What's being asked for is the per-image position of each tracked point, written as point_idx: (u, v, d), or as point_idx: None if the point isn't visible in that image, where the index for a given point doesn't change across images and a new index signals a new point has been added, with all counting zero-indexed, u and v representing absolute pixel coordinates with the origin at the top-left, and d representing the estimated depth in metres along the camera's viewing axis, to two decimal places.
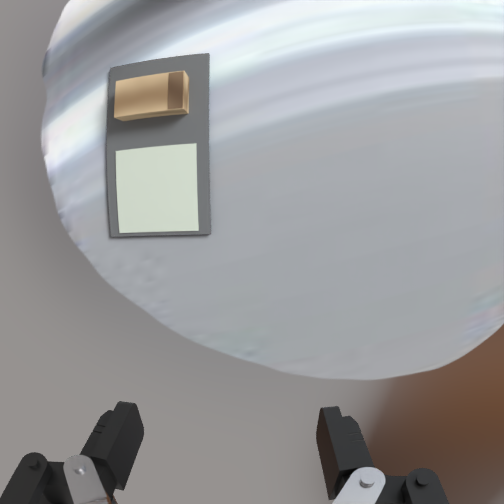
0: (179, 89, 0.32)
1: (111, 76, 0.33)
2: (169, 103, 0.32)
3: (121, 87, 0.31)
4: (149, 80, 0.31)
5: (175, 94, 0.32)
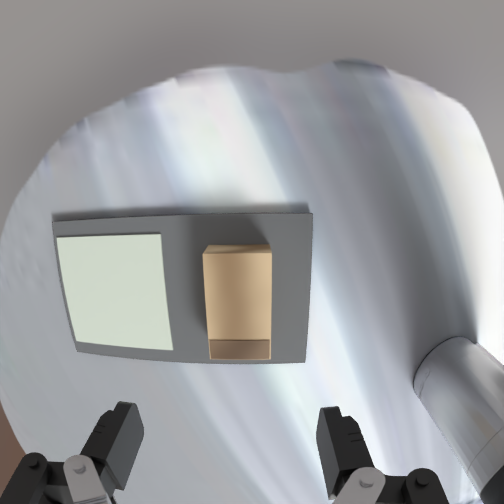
0: (240, 353, 0.24)
1: (295, 217, 0.25)
2: (217, 342, 0.24)
3: (257, 264, 0.22)
4: (261, 312, 0.23)
5: (231, 350, 0.24)
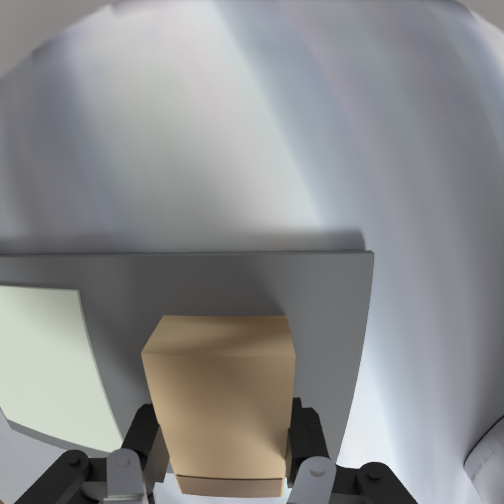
0: (232, 492, 0.11)
1: (340, 260, 0.12)
2: (191, 479, 0.11)
3: (261, 378, 0.09)
4: (269, 449, 0.10)
5: (216, 488, 0.11)
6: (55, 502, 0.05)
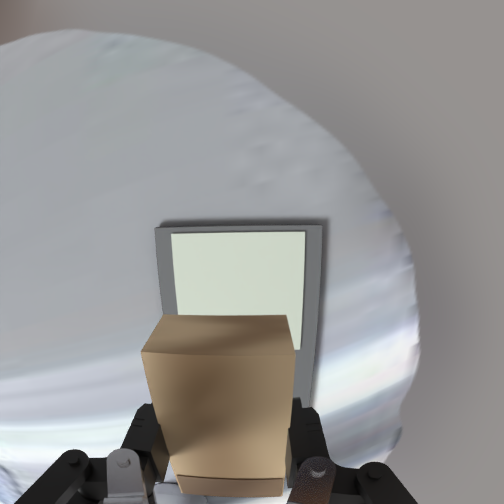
0: (232, 491, 0.11)
1: None
2: (191, 478, 0.11)
3: (261, 377, 0.09)
4: (269, 448, 0.10)
5: (216, 488, 0.11)
6: (55, 502, 0.05)
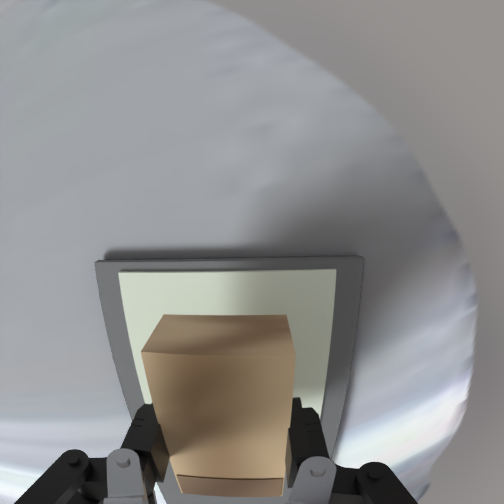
0: (232, 491, 0.11)
1: None
2: (191, 478, 0.11)
3: (261, 377, 0.09)
4: (269, 448, 0.10)
5: (216, 488, 0.11)
6: (55, 502, 0.05)
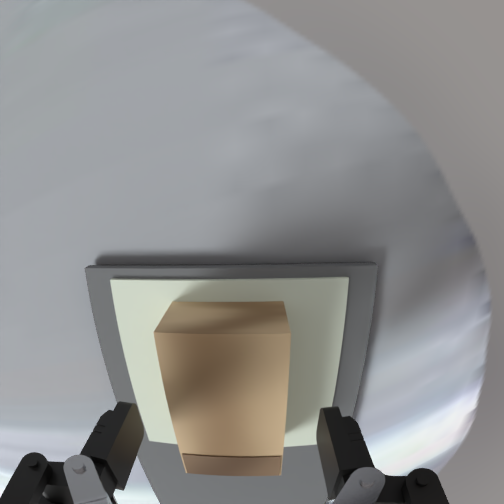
0: (233, 470, 0.13)
1: None
2: (195, 457, 0.12)
3: (261, 354, 0.11)
4: (268, 424, 0.12)
5: (219, 467, 0.12)
6: None
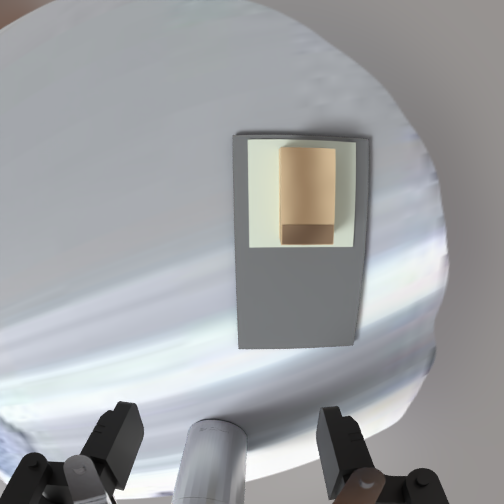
0: (308, 238, 0.28)
1: (352, 335, 0.35)
2: (289, 226, 0.28)
3: (324, 157, 0.26)
4: (327, 199, 0.27)
5: (301, 234, 0.28)
6: None
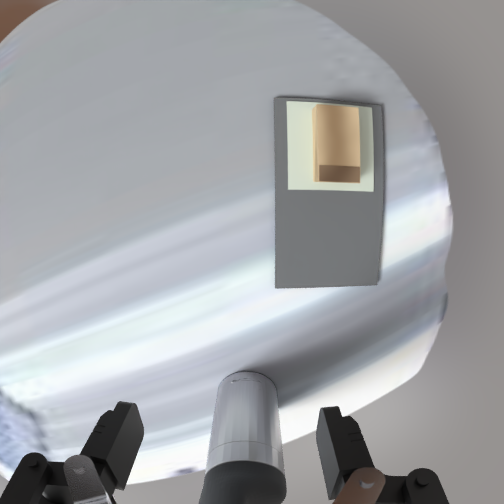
0: (340, 177, 0.33)
1: (376, 275, 0.39)
2: (325, 166, 0.33)
3: (350, 113, 0.31)
4: (354, 145, 0.32)
5: (334, 173, 0.33)
6: None
